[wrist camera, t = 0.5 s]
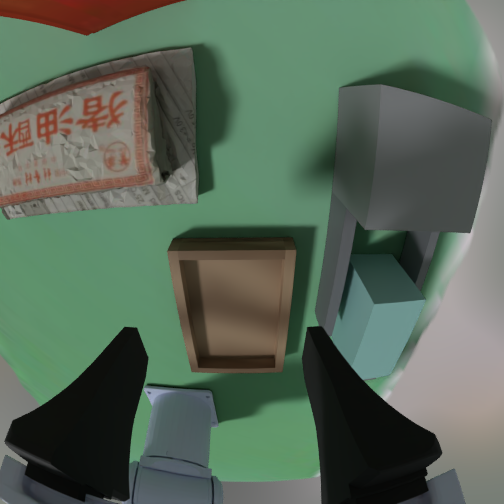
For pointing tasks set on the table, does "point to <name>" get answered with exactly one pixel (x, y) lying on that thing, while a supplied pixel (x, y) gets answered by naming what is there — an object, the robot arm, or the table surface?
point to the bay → (399, 179)
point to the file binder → (79, 12)
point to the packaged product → (102, 138)
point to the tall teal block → (376, 314)
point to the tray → (233, 301)
